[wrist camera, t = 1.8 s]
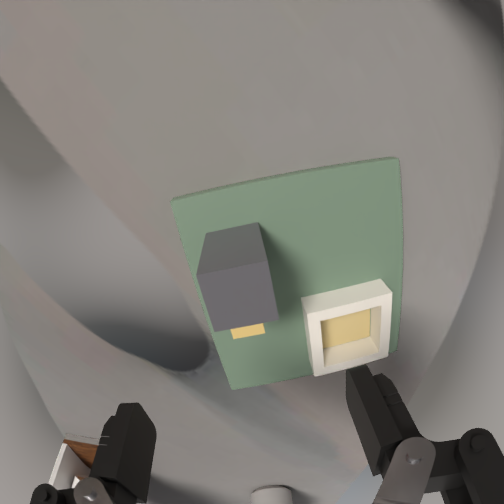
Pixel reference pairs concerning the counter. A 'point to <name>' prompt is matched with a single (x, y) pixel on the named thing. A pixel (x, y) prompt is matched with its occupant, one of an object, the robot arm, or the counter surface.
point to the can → (271, 495)
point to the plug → (237, 281)
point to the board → (311, 266)
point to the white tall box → (73, 461)
